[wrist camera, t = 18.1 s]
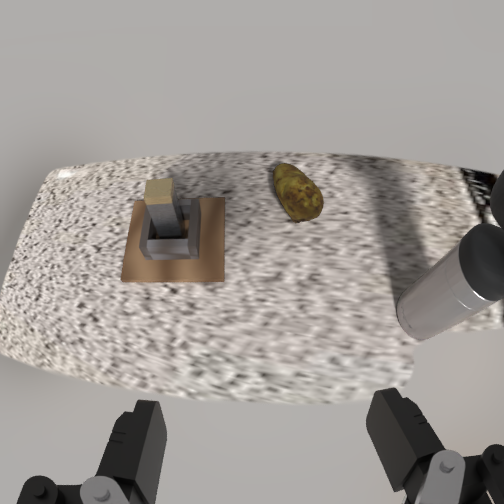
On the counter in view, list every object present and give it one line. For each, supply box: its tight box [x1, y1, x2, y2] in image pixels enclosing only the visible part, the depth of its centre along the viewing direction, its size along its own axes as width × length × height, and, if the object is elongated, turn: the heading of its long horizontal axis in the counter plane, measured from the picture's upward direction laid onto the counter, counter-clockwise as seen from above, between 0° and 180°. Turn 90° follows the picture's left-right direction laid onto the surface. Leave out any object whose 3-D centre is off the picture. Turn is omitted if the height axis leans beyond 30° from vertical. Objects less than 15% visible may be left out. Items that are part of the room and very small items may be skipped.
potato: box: [273, 163, 324, 223], centre depth 49 cm, size 8×13×8 cm, turn 174°
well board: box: [121, 197, 225, 282], centre depth 46 cm, size 16×15×5 cm
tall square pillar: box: [144, 178, 185, 239], centre depth 42 cm, size 4×3×12 cm
